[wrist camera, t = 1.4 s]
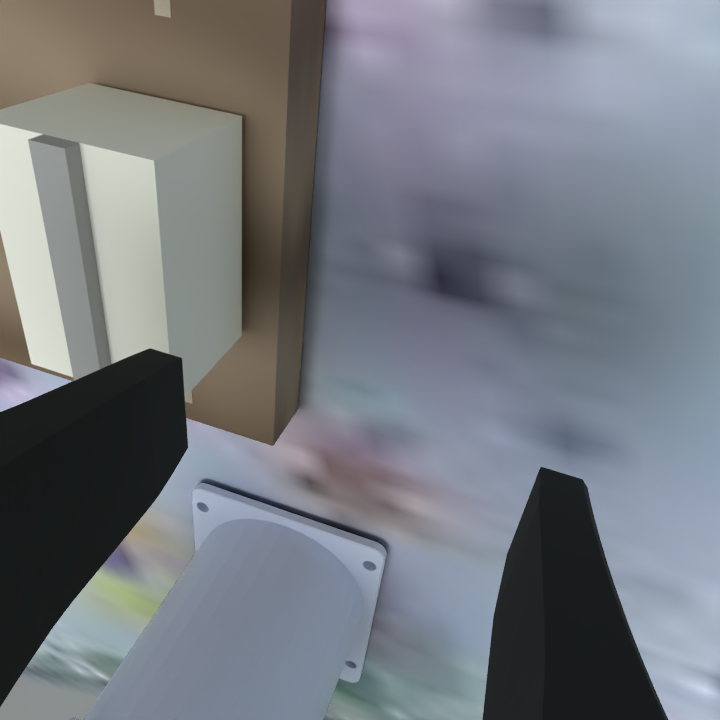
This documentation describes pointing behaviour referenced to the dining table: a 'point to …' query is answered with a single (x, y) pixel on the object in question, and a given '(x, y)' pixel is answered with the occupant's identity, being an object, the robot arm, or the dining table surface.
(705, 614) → the dining table surface
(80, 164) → the fader knob
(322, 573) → the robot arm
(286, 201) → the console board
